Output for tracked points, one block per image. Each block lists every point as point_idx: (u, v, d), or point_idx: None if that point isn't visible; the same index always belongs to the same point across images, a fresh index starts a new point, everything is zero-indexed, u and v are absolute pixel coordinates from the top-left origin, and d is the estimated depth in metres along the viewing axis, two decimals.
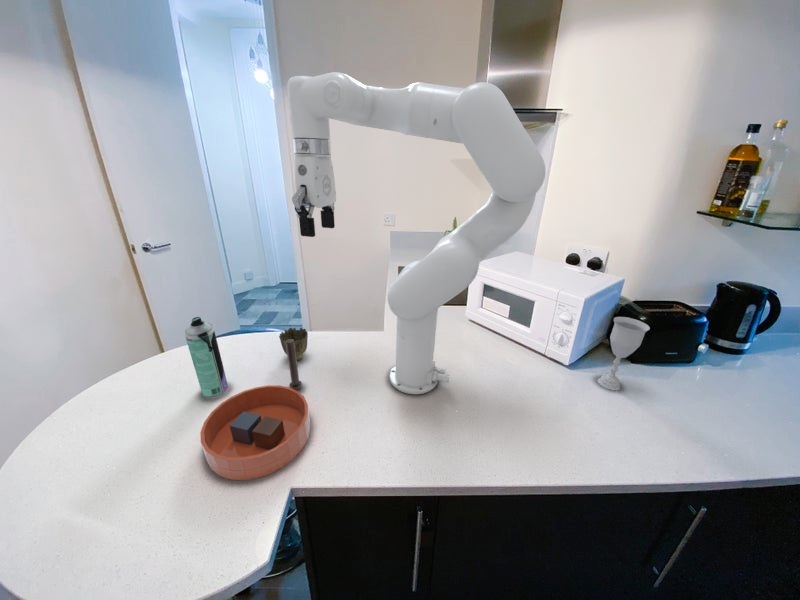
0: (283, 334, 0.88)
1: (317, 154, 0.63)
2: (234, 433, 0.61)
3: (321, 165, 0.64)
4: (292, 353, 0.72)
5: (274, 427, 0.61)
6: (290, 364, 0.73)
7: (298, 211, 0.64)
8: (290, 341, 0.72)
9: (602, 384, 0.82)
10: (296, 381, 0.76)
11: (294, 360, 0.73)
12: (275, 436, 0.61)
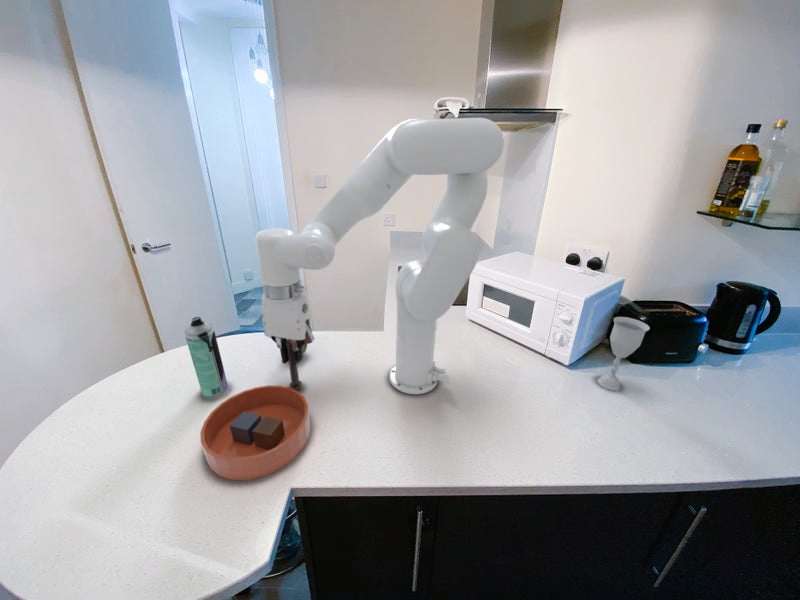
0: None
1: None
2: (234, 433, 0.61)
3: None
4: None
5: (274, 427, 0.61)
6: (290, 364, 0.73)
7: None
8: (290, 341, 0.72)
9: (602, 384, 0.82)
10: (296, 381, 0.76)
11: None
12: (275, 436, 0.61)
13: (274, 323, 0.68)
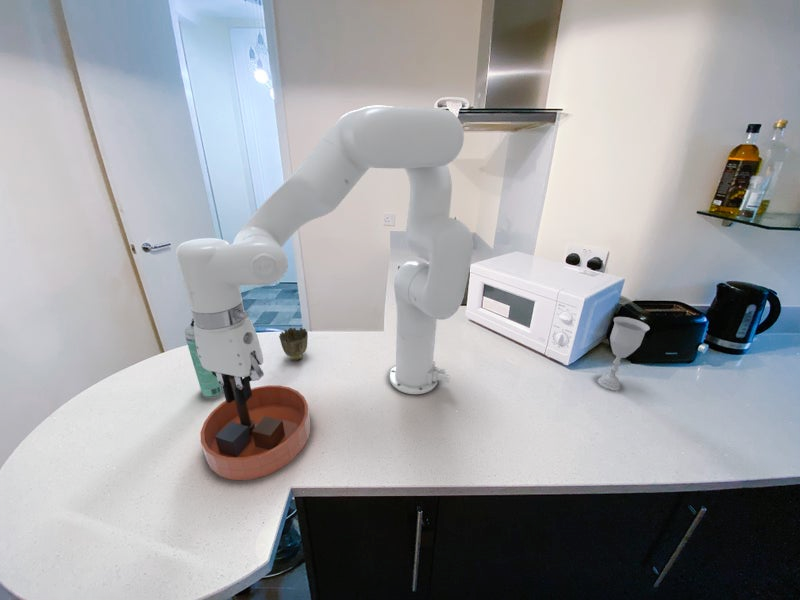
0: (283, 334, 0.88)
1: None
2: (220, 444, 0.59)
3: None
4: None
5: (274, 427, 0.61)
6: (237, 403, 0.60)
7: None
8: None
9: (602, 384, 0.82)
10: (246, 422, 0.62)
11: None
12: (275, 436, 0.61)
13: (210, 356, 0.54)
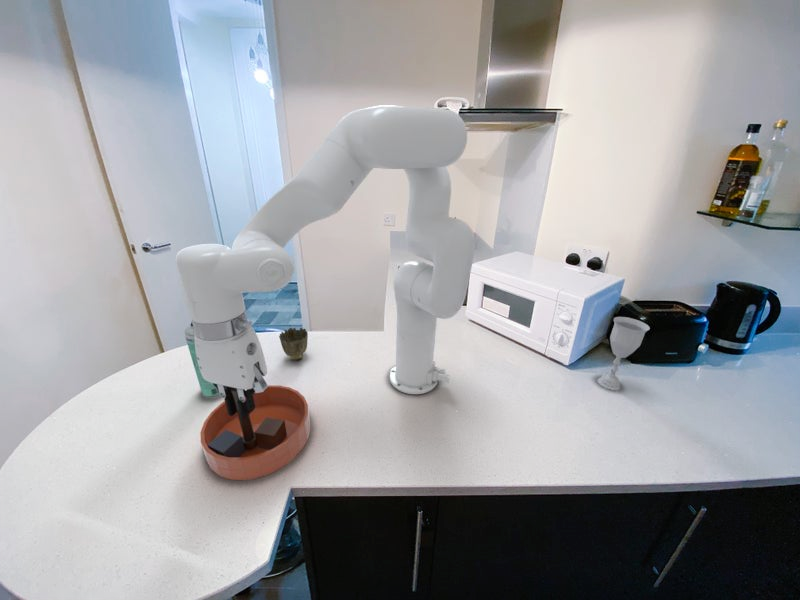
0: (283, 334, 0.88)
1: None
2: None
3: None
4: None
5: (277, 427, 0.61)
6: (239, 416, 0.57)
7: None
8: None
9: (602, 384, 0.82)
10: (249, 435, 0.59)
11: None
12: (278, 436, 0.61)
13: (212, 368, 0.51)
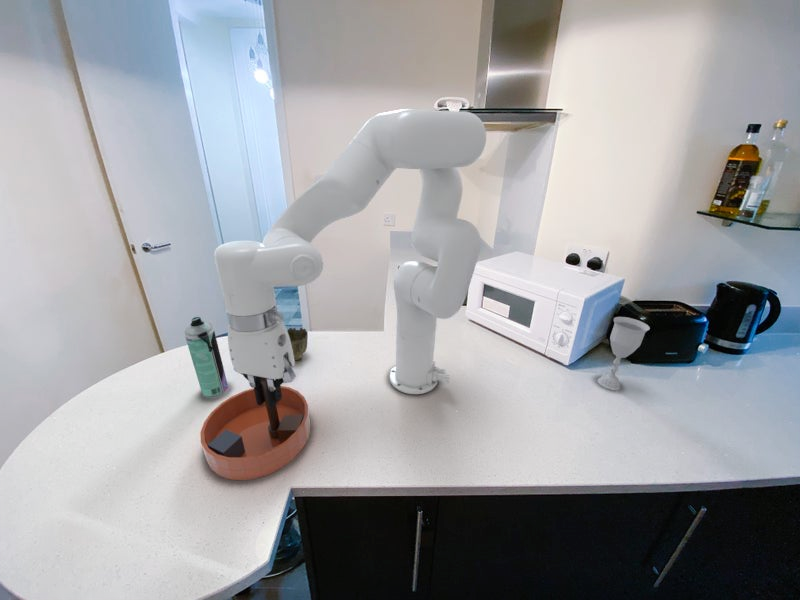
0: None
1: None
2: None
3: None
4: None
5: (298, 422, 0.62)
6: (267, 405, 0.60)
7: None
8: (266, 379, 0.58)
9: (602, 384, 0.82)
10: (276, 424, 0.62)
11: None
12: None
13: (244, 359, 0.54)
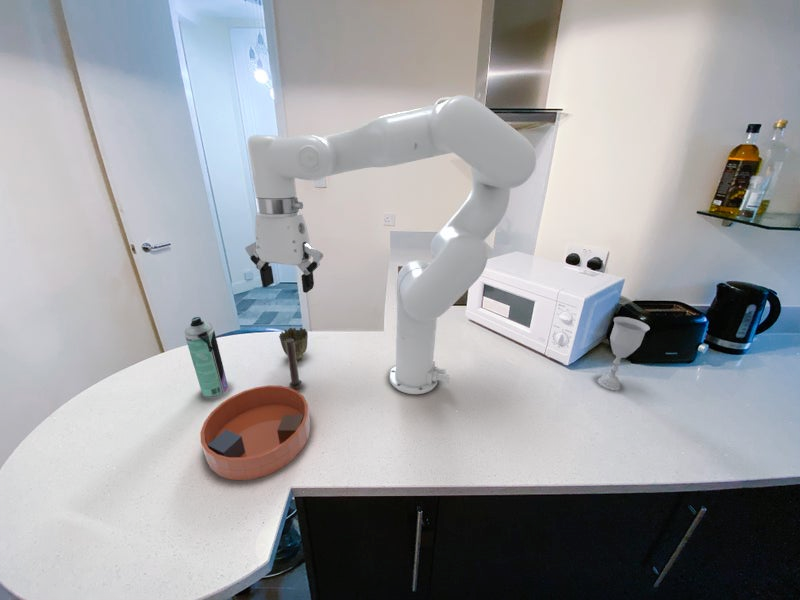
0: (283, 334, 0.88)
1: None
2: None
3: None
4: (292, 353, 0.72)
5: (298, 422, 0.62)
6: (290, 363, 0.74)
7: (316, 267, 0.64)
8: (290, 341, 0.72)
9: (602, 384, 0.82)
10: (296, 380, 0.76)
11: (294, 359, 0.74)
12: None
13: (269, 245, 0.63)
